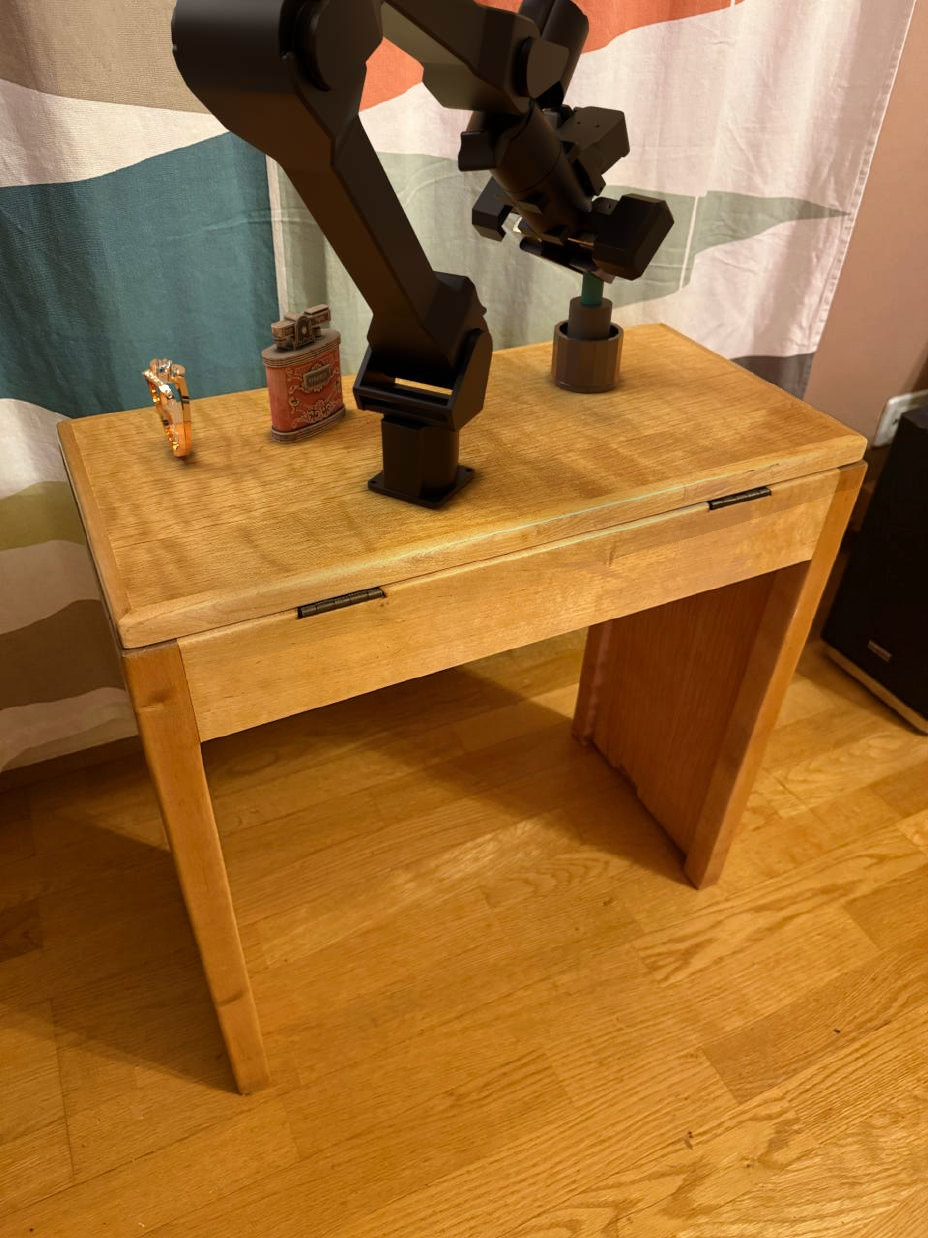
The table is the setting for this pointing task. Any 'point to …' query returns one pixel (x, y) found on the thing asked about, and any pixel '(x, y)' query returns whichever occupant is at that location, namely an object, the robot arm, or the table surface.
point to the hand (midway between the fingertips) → (603, 276)
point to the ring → (171, 403)
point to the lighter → (304, 375)
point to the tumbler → (586, 360)
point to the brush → (590, 311)
